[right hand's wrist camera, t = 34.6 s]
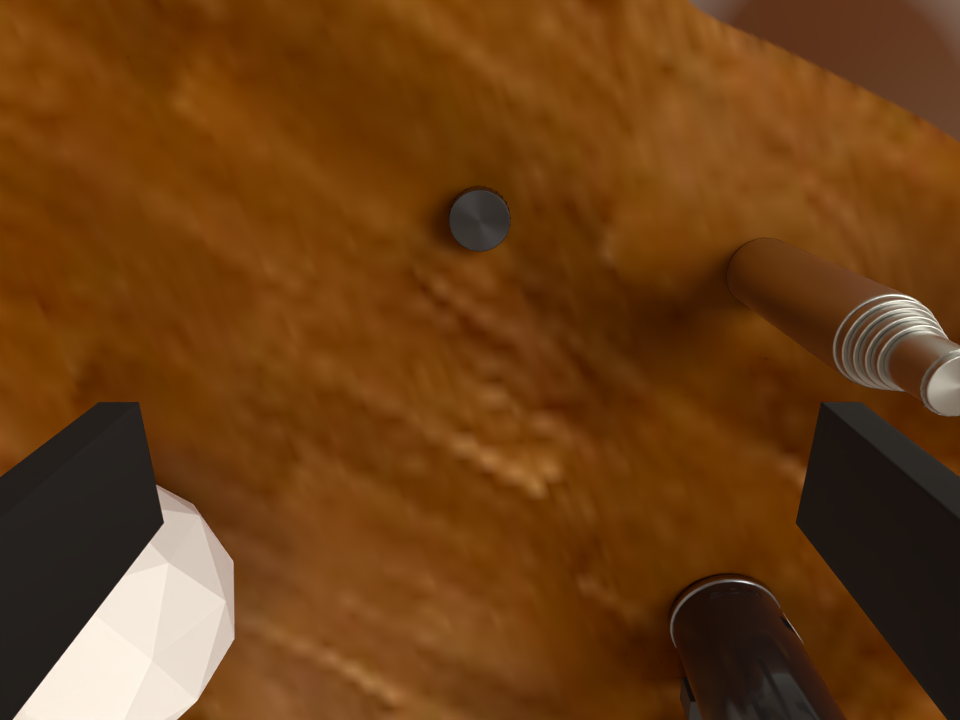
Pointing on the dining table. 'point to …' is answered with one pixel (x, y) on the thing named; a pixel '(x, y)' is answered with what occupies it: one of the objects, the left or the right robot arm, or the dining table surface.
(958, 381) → the bottle
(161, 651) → the sphere
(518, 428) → the dining table surface
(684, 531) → the dining table surface
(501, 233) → the cap
